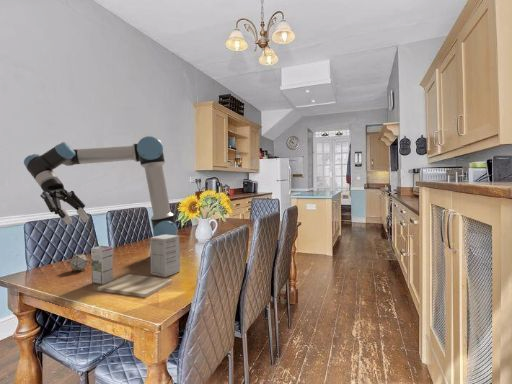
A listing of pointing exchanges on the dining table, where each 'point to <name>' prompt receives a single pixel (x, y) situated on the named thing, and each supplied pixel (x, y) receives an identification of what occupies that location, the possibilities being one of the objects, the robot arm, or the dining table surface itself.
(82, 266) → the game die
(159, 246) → the supplement box
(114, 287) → the cutting board
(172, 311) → the dining table surface
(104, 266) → the syrup box
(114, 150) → the robot arm
